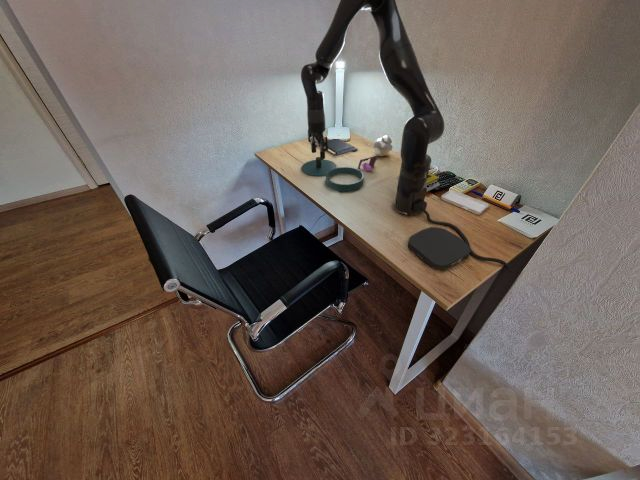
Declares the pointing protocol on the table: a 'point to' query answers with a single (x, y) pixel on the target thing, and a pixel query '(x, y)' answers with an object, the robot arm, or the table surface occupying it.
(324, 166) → the tin lid
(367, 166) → the purple monster toy
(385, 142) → the ghost figurine
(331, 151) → the dark notebook
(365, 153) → the table surface
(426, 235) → the media streaming box
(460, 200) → the phone case
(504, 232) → the table surface
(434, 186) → the emergency button
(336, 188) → the tin
